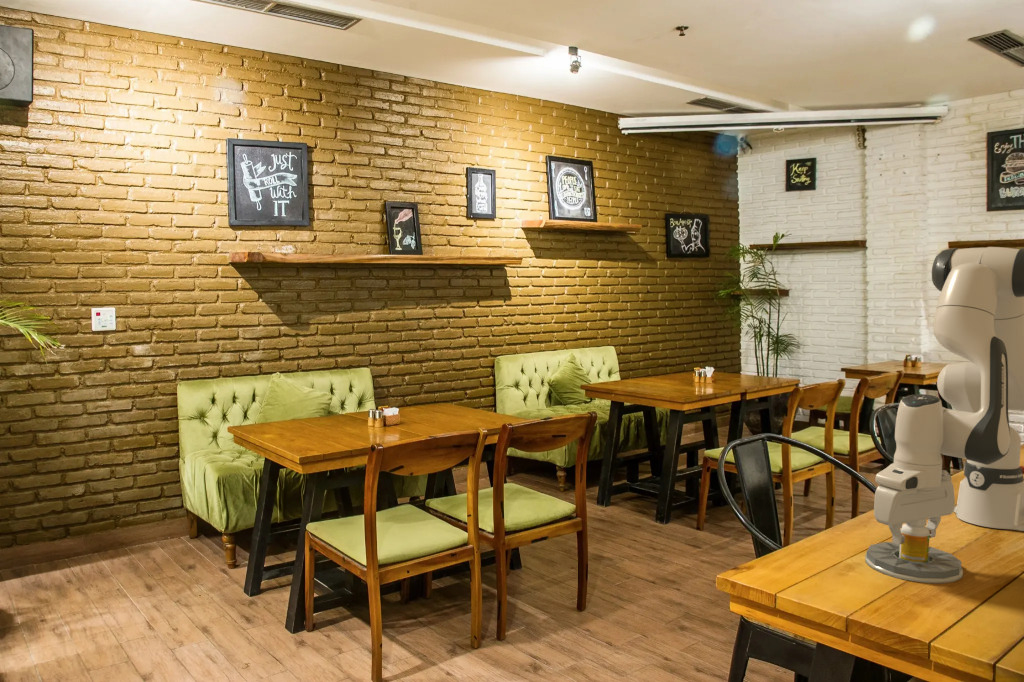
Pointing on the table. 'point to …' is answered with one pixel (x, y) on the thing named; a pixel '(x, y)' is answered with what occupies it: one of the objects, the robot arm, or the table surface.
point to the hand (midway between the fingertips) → (914, 540)
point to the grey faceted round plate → (914, 564)
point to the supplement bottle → (915, 541)
